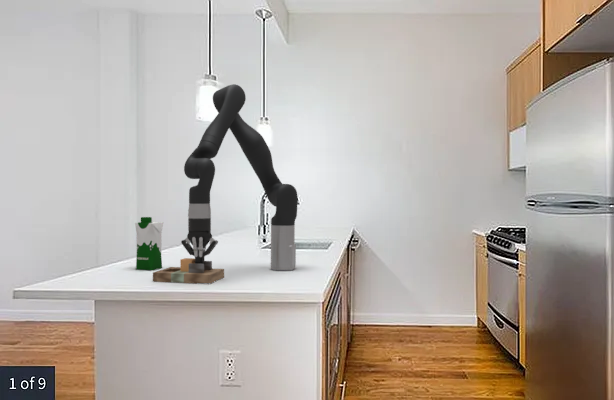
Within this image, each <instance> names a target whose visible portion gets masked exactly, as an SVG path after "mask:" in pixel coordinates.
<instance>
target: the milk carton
mask: <svg viewBox="0 0 614 400" xmlns="http://www.w3.org/2000/svg"><path fill="white" fill-rule="evenodd" d="M134 225H135V231H136V259H135V261H136V262H135V269H136V270H139V271H155V270H159V269H163V264H162V263H163V261H162V233H163V232H162V231H163V226H164V222H161V221H160V222H159V221H158V222H157V221H153V218H152V217H151V216H141V217H140V221H139V222H138V221H137V222H135V223H134Z"/></svg>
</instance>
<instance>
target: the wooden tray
mask: <svg viewBox="0 0 614 400" xmlns="http://www.w3.org/2000/svg"><path fill="white" fill-rule="evenodd" d="M221 278H222V279H224V278H225V268H213V261H212V260H204V264H196V263H189V272H185V271H180V266H169V267H166V268H164V269H163V268H162V269H161V270H157V271H153V272H152V282H153V281H154V282H153V283H155V282H156V283H157V282H158V283H179V284H197V283H211V284H213V283H215V282H217V281H216V280H218V281H220V280H221ZM219 279H220V280H219ZM214 281H215V282H214ZM212 282H213V283H212Z"/></svg>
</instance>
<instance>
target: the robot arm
mask: <svg viewBox="0 0 614 400" xmlns="http://www.w3.org/2000/svg"><path fill="white" fill-rule="evenodd" d="M246 100H247V99H246V93H245V90H244V89H243V88H242V87H241V86H240V85H238V84H229V85H226V86H224V87H222V88H220V89H218V90H216V91H215V92H214V93H213V95H212V102H213V105H214V108H215V110H216V111H217V112H218V114H217V115H216V116H215V117H214V119H212V122H211V123H210V124H209V125H208V126H207V127H206V129H205V131H204V132H203V135H202V137H201V139H200V141H199V144H198V145H197V147H196V148H195V149H194V150H193V151H192V152H191V154H190V155H189V156H188V157H187V159H186V161H185V163H184V165H183V172H184V175H185V176H186V177H187V178H188V179H192V180H198V182H197V184H196V185H193V186H191V187H190V188H189V189H188V190H189V191H188V210H187V211H188V213H187V217H188V220H187V226H188V228H187V229H188V232H187V235H186V238H185V239H182V240H181V242H180V243H181V245H182V246H183V247H184V249H185V250H186V251H187V253H188V254H189V255H190V256H193V257H194V259H195V263H196V264H204V261H205V257H206V256H208V255H210V254H211V252H213V250H214V249H215V248H216V246H217V245H218V243H219V240H216V239H214V238H213V235H212V232H211V231H212V229H211V228H212V227H211V226H212V220H211V219H212V209H211V189H212V186H213V182H214V179H215V173H216V166H215V164H214V162H213V160H212V159H214V158H216V157H217V155H218V153H219V150H220V148H221V146H222V143H223V141H224V138H225V137H226V134H227V133H228V131H229V130H230V131H231V133H232V135H233V137H234V138H235V140H236V141H237V143H238V144H239V146H240V148H241V151H242V152H243V154H244V156H245V158H246V159H247V161H248V162H249V164H250V166H251V168H252V169H253V171H254V173H255V174H256V176H257V177H258V179H259V181H260V184H261V185H262V189H263V191H264V193H265V195H266V197H267V199H268V201H269V203H270V204H271V206H274V207H275V214H274V215H273V216H272V217H271V219H270V270H273V271H294V270H295V269H297V268H296V267H297V265H296V263H297V262H296V258H297V257H296V255H297V253H296V251H297V244H295V239H296V238H295V235H296V234H295V232H296V231H295V230H296V229H295V227H296V224H295V223H296V222H295V221H296V219H297V216H298V191H297V189H296V188H295V186H294V185H293V184H288V183H282V181H281V180H280V179H279V176H278V175H277V173H276V171H275V169H274V164H273V157H272V153H271V150H270V148H269V146H268V143H267V142H266V140H265V138H264V137H263V135H262V134H261V133H260V132H259V131H257V130H256V129H255V128H253V127H252V126H251V125H249V124H248V123H247V122H246V121H244V119H243V118H242V116H241V115H240V111H241V109H242V108H243V107H244V105H245V102H246ZM208 244H209V246H208V247H207V245H208ZM191 245H192V246H191Z"/></svg>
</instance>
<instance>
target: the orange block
mask: <svg viewBox="0 0 614 400" xmlns="http://www.w3.org/2000/svg"><path fill="white" fill-rule="evenodd" d="M179 263H180V265H179V267H180V271H185V272H189V263H195V257H194V258H191V257H190V258H189V257H187V258H186V257H184V258H181V259H180V262H179Z"/></svg>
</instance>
